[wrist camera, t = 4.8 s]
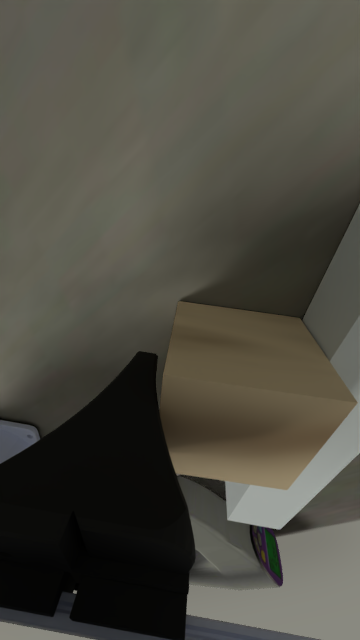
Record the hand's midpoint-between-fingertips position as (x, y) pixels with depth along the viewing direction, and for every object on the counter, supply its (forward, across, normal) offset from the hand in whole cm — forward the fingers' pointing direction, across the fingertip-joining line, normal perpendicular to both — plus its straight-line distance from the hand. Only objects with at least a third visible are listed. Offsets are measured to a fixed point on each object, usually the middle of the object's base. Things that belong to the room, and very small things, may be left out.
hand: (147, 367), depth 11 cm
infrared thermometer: (+2, -6, +23) cm, 24 cm away
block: (+2, -4, 0) cm, 4 cm away
